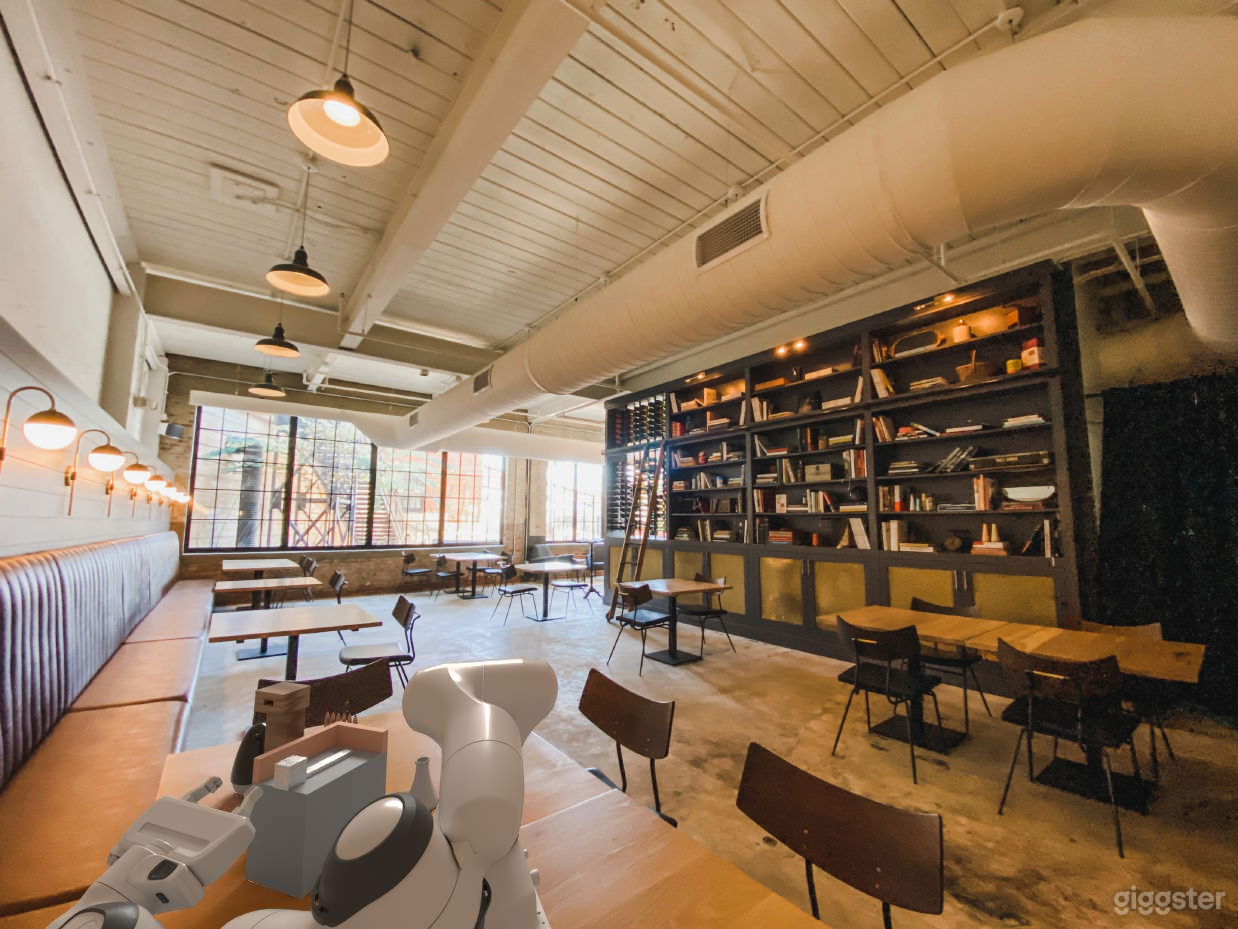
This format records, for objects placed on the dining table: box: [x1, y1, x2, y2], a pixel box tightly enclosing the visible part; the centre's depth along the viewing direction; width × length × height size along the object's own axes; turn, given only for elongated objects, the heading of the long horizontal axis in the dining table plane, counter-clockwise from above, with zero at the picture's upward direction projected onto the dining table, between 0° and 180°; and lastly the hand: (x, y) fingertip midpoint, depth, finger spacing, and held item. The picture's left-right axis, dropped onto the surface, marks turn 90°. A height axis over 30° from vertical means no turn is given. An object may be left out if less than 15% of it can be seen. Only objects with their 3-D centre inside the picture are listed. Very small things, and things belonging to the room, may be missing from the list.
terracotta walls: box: [252, 721, 389, 783], centre depth 98 cm, size 18×14×4 cm
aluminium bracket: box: [273, 749, 354, 791], centre depth 96 cm, size 14×4×4 cm, turn 160°
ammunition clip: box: [323, 711, 359, 728], centre depth 136 cm, size 11×2×12 cm, turn 77°
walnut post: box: [253, 681, 311, 753], centre depth 105 cm, size 8×12×29 cm, turn 70°
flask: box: [408, 755, 439, 812], centre depth 113 cm, size 7×7×10 cm
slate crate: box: [244, 745, 388, 900], centre depth 97 cm, size 18×14×16 cm
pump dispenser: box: [229, 721, 266, 796], centre depth 120 cm, size 10×10×15 cm
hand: (238, 783), depth 82 cm, fingers open, 8 cm apart
